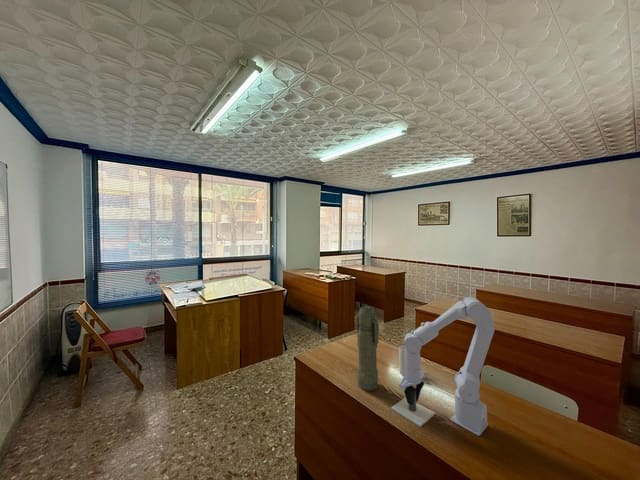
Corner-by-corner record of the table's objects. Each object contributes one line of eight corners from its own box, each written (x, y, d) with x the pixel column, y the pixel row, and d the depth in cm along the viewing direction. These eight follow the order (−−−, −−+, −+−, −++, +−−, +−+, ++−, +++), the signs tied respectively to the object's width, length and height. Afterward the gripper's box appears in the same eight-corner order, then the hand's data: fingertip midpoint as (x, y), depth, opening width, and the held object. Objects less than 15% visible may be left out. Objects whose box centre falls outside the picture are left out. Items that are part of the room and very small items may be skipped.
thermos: (372, 395, 105) (372, 311, 105) (351, 383, 114) (350, 306, 113) (384, 386, 111) (384, 307, 111) (363, 376, 120) (363, 302, 119)
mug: (408, 378, 117) (408, 352, 117) (396, 372, 123) (396, 347, 123) (420, 371, 124) (419, 346, 124) (407, 365, 129) (407, 342, 129)
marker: (418, 409, 95) (417, 383, 95) (413, 412, 93) (412, 385, 93) (411, 405, 97) (411, 379, 97) (406, 408, 96) (406, 382, 96)
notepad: (434, 414, 93) (434, 412, 93) (420, 426, 87) (420, 425, 87) (406, 398, 103) (406, 396, 103) (391, 408, 97) (391, 407, 97)
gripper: (413, 356, 103) (413, 389, 103) (391, 368, 94) (392, 404, 94) (429, 363, 97) (430, 398, 97) (408, 376, 88) (409, 414, 88)
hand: (412, 401), depth 95 cm, fingers closed on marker, 3 cm apart
